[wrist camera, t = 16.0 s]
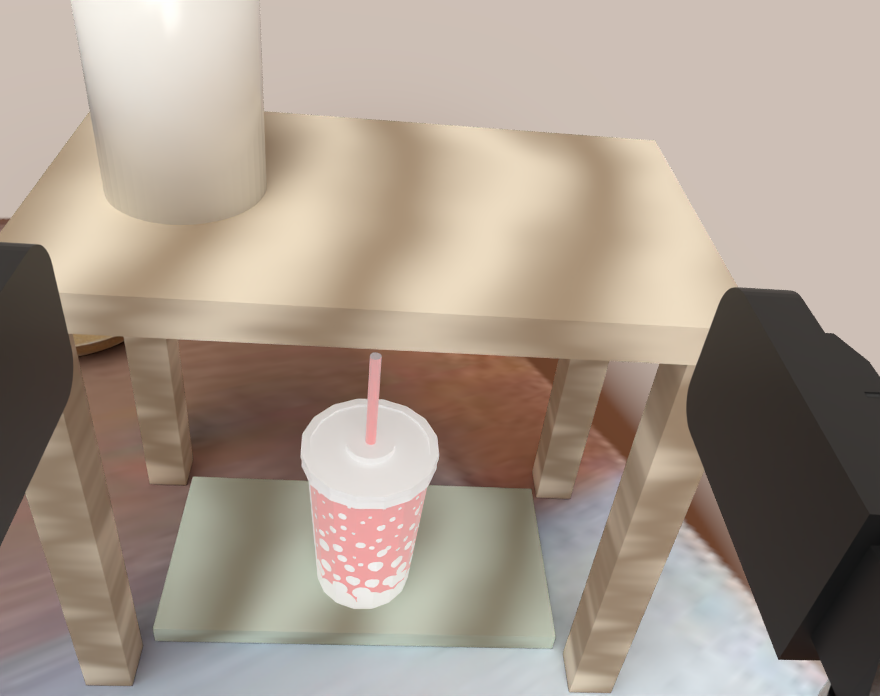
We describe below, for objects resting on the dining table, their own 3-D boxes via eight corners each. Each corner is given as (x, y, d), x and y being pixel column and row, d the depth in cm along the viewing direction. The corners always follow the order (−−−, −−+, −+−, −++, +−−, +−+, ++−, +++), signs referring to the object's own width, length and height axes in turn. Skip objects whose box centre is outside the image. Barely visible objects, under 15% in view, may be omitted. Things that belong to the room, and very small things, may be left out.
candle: (83, 219, 27) (24, -82, 22) (126, 145, 32) (86, -121, 26) (255, 229, 28) (241, -62, 22) (275, 156, 32) (267, -103, 27)
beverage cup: (436, 611, 41) (469, 398, 32) (311, 633, 39) (310, 415, 30) (407, 515, 45) (429, 306, 37) (294, 532, 44) (289, 317, 35)
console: (86, 685, 37) (-40, 287, 24) (157, 458, 48) (98, 99, 35) (610, 692, 39) (762, 331, 26) (564, 473, 50) (654, 140, 37)
